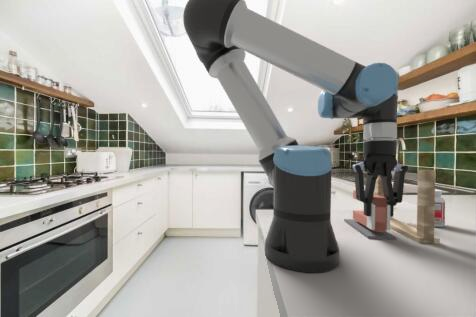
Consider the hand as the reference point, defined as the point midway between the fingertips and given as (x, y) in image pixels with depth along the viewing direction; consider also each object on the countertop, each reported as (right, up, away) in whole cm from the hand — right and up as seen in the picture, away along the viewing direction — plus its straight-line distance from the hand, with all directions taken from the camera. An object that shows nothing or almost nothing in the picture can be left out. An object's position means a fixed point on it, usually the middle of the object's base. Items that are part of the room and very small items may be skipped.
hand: (378, 228), depth 59 cm
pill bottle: (+24, -3, +11) cm, 27 cm away
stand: (+11, -2, +7) cm, 13 cm away
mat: (+1, -2, +6) cm, 6 cm away
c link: (0, -1, +5) cm, 6 cm away
